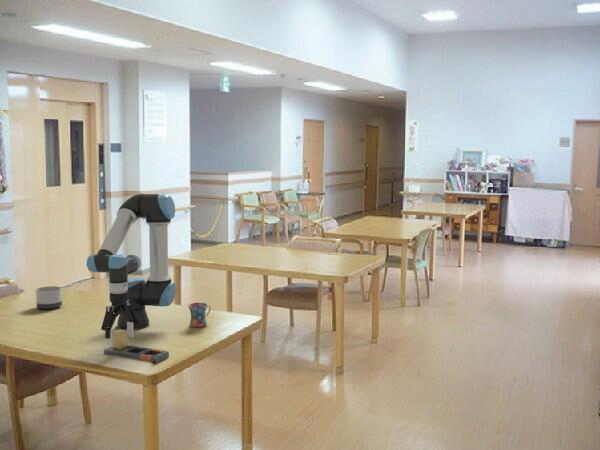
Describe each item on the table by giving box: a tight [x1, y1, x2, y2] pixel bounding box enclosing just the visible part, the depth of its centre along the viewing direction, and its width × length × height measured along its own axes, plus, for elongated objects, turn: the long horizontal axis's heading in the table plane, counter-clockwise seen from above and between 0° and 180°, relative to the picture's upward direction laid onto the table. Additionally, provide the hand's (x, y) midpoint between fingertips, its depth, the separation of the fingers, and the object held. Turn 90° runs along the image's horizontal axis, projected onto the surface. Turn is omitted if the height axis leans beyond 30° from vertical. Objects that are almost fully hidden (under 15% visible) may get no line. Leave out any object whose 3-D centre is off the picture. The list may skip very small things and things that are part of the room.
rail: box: [103, 344, 170, 365], centre depth 263 cm, size 26×9×3 cm, turn 67°
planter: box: [35, 285, 63, 310], centre depth 341 cm, size 13×13×10 cm
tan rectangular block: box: [112, 328, 128, 351], centre depth 265 cm, size 4×4×9 cm
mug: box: [187, 302, 212, 328], centre depth 308 cm, size 12×9×11 cm
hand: (120, 341), depth 265 cm, fingers open, 13 cm apart
